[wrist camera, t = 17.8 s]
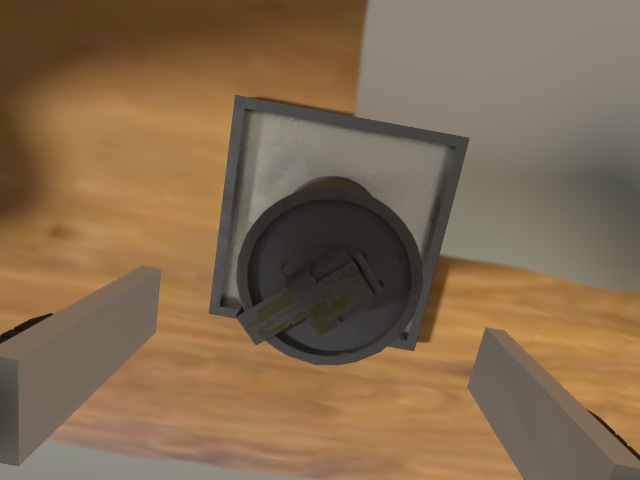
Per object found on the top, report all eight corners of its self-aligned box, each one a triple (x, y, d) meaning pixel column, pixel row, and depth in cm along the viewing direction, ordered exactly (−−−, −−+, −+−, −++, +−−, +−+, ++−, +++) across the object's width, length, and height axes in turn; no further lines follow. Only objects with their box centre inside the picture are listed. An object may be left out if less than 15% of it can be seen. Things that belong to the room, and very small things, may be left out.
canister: (348, 155, 35) (366, 144, 16) (400, 243, 37) (476, 333, 17) (257, 213, 37) (171, 269, 17) (311, 295, 38) (288, 431, 19)
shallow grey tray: (214, 306, 40) (208, 313, 38) (240, 98, 35) (235, 94, 33) (410, 342, 40) (414, 351, 38) (462, 139, 35) (469, 137, 33)
